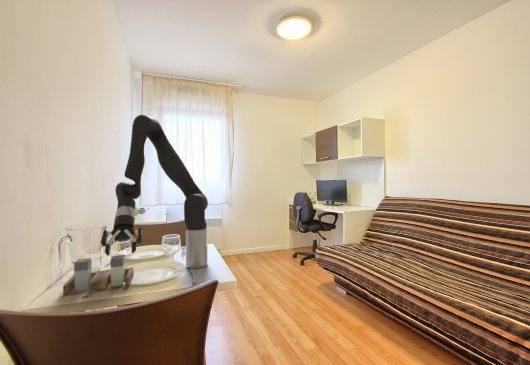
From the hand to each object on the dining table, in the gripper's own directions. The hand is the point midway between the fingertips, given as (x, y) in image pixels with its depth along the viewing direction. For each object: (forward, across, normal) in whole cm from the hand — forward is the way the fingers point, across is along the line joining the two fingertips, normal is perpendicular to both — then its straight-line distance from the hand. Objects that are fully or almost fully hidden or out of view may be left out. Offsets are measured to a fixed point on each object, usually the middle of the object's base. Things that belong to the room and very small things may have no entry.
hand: (120, 253), depth 98 cm
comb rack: (+10, -6, +5) cm, 13 cm away
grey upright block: (+10, 0, +4) cm, 11 cm away
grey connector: (+10, -11, +4) cm, 16 cm away
